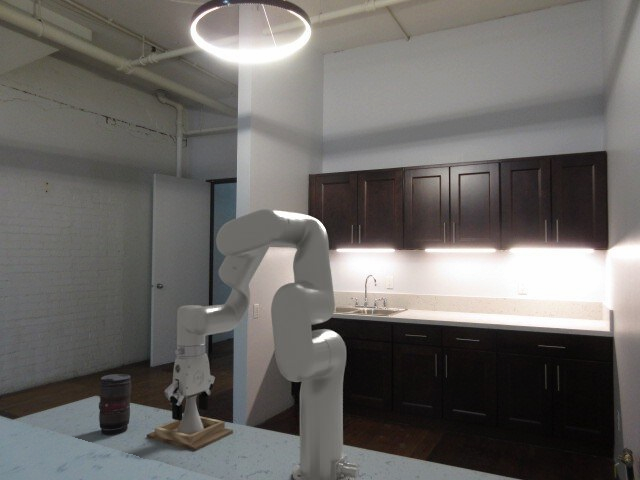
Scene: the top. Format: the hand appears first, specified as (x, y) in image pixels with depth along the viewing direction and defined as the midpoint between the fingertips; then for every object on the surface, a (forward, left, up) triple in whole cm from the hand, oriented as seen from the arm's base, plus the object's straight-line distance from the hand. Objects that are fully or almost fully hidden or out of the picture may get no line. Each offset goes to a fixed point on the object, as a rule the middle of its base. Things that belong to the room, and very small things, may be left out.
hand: (190, 414), depth 125 cm
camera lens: (+21, +8, -6) cm, 23 cm away
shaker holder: (0, 0, -6) cm, 6 cm away
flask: (0, 0, -5) cm, 5 cm away
